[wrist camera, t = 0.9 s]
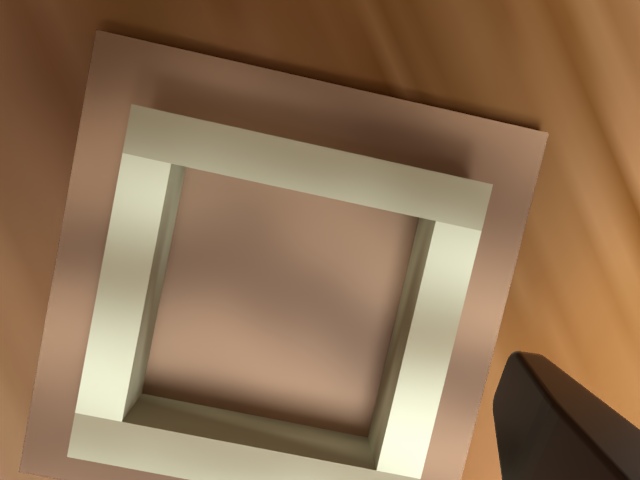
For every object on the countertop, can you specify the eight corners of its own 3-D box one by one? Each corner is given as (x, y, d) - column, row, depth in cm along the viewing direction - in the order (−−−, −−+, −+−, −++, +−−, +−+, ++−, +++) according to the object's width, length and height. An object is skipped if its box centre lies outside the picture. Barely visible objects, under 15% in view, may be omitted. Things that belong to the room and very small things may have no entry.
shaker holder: (438, 538, 24) (460, 596, 21) (28, 461, 23) (-17, 509, 20) (540, 134, 22) (581, 127, 19) (104, 34, 21) (68, 9, 18)
